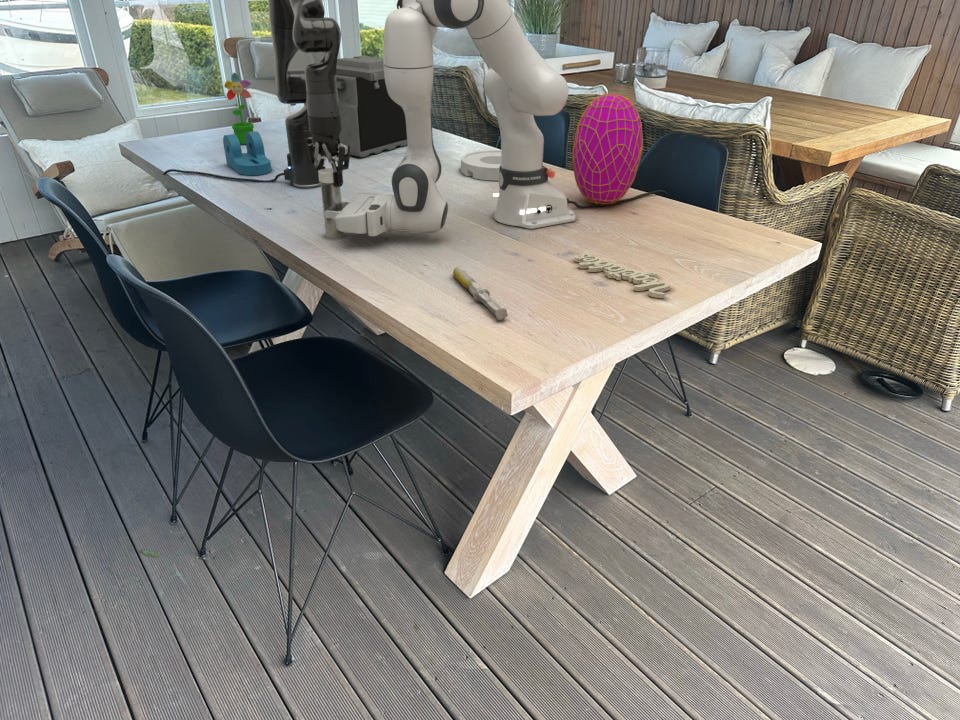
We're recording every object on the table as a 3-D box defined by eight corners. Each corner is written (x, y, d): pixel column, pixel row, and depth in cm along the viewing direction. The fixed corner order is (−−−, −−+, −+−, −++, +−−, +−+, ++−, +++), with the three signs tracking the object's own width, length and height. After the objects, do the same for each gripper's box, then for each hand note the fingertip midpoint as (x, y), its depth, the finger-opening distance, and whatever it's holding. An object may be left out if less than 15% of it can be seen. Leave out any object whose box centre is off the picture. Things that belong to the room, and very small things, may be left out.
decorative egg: (611, 217, 189) (624, 103, 174) (555, 202, 201) (562, 94, 185) (647, 202, 202) (662, 94, 186) (592, 188, 213) (602, 86, 198)
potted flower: (235, 145, 255) (223, 73, 243) (231, 141, 261) (219, 70, 249) (261, 143, 259) (250, 72, 247) (256, 139, 265) (246, 69, 252)
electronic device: (383, 133, 276) (378, 52, 261) (425, 141, 265) (422, 56, 250) (314, 150, 251) (304, 61, 235) (358, 160, 240) (350, 67, 224)
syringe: (449, 274, 155) (449, 263, 153) (465, 272, 156) (464, 260, 154) (490, 323, 135) (491, 310, 133) (508, 319, 136) (508, 307, 134)
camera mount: (227, 164, 233) (221, 132, 227) (257, 160, 238) (252, 129, 233) (244, 176, 220) (239, 143, 215) (276, 172, 225) (271, 139, 220)
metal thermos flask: (328, 232, 178) (322, 170, 170) (346, 232, 178) (341, 171, 170) (323, 238, 174) (317, 175, 166) (341, 239, 174) (336, 176, 166)
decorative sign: (686, 282, 150) (660, 295, 144) (686, 286, 150) (659, 300, 144) (592, 249, 166) (565, 259, 160) (592, 253, 167) (565, 263, 161)
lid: (314, 180, 168) (313, 171, 167) (330, 176, 172) (330, 166, 171) (329, 184, 165) (328, 175, 164) (345, 180, 169) (344, 170, 168)
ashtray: (462, 161, 240) (462, 149, 238) (529, 162, 239) (529, 150, 237) (459, 179, 220) (459, 167, 218) (531, 181, 220) (531, 168, 217)
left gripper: (291, 110, 162) (299, 182, 170) (332, 119, 154) (339, 193, 163) (315, 106, 167) (322, 176, 175) (357, 114, 160) (362, 186, 168)
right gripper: (392, 188, 178) (340, 185, 180) (371, 213, 161) (314, 210, 162) (393, 211, 182) (342, 209, 183) (373, 239, 164) (317, 235, 166)
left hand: (330, 184), depth 169 cm, fingers closed on lid, 5 cm apart
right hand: (329, 209), depth 173 cm, fingers closed on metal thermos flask, 4 cm apart
